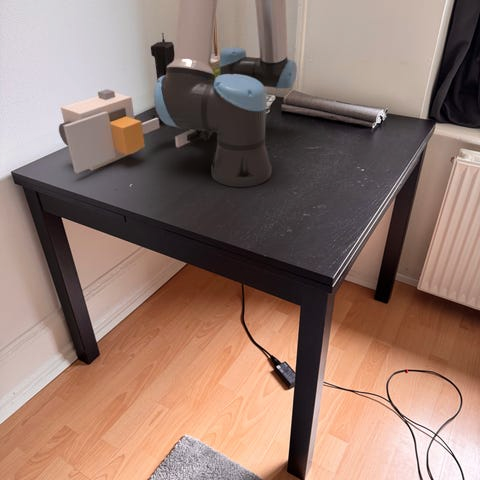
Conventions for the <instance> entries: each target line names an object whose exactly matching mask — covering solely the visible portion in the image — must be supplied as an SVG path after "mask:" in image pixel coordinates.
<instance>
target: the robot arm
mask: <svg viewBox="0 0 480 480" xmlns="http://www.w3.org/2000/svg"><path fill="white" fill-rule="evenodd" d="M218 1H219V0H179V7H178V18H177V27H176V28H177V29H176V37H175V45H174V54H175V55H174V61H173V62H172V63H171V64H169V65H168V66H167V70H166V75H164V76H162V77H160V78H159V79H158V80H157V79H156V83H155V84H154V89H153V103H154V107H155V111H156V113H154V114H152V115H151V116H152V119H150V120H147V121H144V122H141V123H142V130H143V135H146V134H148V133H150V132H154V131H156V130H159V129H160V127H166V126H167V127H168V126H170V127H175V128H178V129H188V130H187V131H184V132H182V133H180V134H178V135H176V136H174V139H175V147H176V148H180V147H182V146H184V145H186V144H188V143H191V142H194V141H195V140H201V139H203V140H204V141H208V140H209V139H210V137H211V136H212V135H213V133H216V141H217V142H216V144H217V145H216V149H215V152H214V155H213V160H212V162H211V176H212V178H213V180H214V181H216V182H218V183H219V184H222V185H224V186H228V187H233V188H234V187H235V188H236V187H237V188H247V187H249V188H250V187H254V186H257V185H258V186H259V185H261V184H264V183H265V182H267V181H269V179H270V178H271V175H272V163H271V160H270V157H269V154H268V150H267V147H266V115H267V113H266V112H267V110H266V109H267V100H266V98H267V97H266V88H273V89H274V88H275V89H292V87H293V86H294V84H295V83H296V82H295V81H296V78H297V67H298V66H297V63H296V61H295V60H290V59H289V58H288V35H287V34H288V33H287V27H288V26H287V1H286V0H254V1H255V4H254V5H255V14H256V25H257V36H258V37H257V38H258V48H259V57H251V56H247V53H246V52H247V51H246V49H245V48H244V47H243V48H242V47H237V46H235V47H234V46H232V47H229V46H228V47H225V48H223V49H221V50H220V51H219V55H220V65H219V67H220V76H218V77H217V78H216V79H215V73H214V72H213V70H212V69H211V67H210V61H211V54H212V52H213V51H212V49H213V43H214V33H215V27H216V26H215V25H216V15H217V8H218ZM265 87H266V88H265Z"/></svg>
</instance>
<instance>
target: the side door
mask: <svg viewBox="0 0 480 480" xmlns="http://www.w3.org/2000/svg"><path fill="white" fill-rule="evenodd" d="M142 123H143V122H142V121H141V120H139V119H132V118H129V117H123V118H120V119H117V120H115V121H112V122H110V120H109V115H108V112H102V113H99V114H96V115H93V116H90V117H87V118H84V119H81V120H78V121H75V122H72V123H69V124H66V125H63V127H64V131H65V135H66V139H67V143H68V146H67V147H68V149H69V154H70V158H71V162H72V166H73V167H72V168H73V172H74V173H76V174H79V173H82V172H84V171H86V170H90V169H89V168H91V167H94V166H96V165H98V164H101V163H103V162H106V161H108V160H110V159H113V158H115V157H116V153H115V150H117V151H119V152H122V153H124V154H130V153H132V152H134V151H137V150H139V151H140V149H143V148H146V145H145V138H144V134H143V130H142ZM137 152H138V151H137ZM134 153H135V152H134ZM132 154H133V153H132ZM130 155H131V154H130Z"/></svg>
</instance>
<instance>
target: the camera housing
mask: <svg viewBox="0 0 480 480" xmlns="http://www.w3.org/2000/svg"><path fill="white" fill-rule="evenodd" d="M60 110H61V111H60V112H61V115H62V118H63V122H62V123H60V124H59V125H58V133H59V136H60V139H62V141H63V143H64V144H65V145H66V146H67V147H68V143H67V139H66V135H65V131H64V127H63V125H66V124H69V123H72V122H75V121H78V120H81V119H84V118H87V117H90V116H93V115H96V114H99V113H102V112H108V115H109V120H110V122H112V121H115V120H117V119H120V118H123V117H129V118H132V119H135V114H134V113H135V112H134V105H133V99H132V97H131V96H129V95H125V94H121V93H118V92H115V91H114V90H112V89H111V90H110V89H104V90H101V91H98V92H97V96H93V97H90V98H87V99H84V100H80V101H77V102H74V103H71V104H68V105H63V106H60ZM139 151H140V149H139V150H137V151H134V152H132V153H130V154H124V153H122V152H119V151H117V150H115V153H116V157H115V158H113V159H110V160H108V161H106V162H103V163H101V164H98V165H96V166H94V167H91V168H89V169H88V170H90V171H95V170H97V169H99V168H101V167H104V166H106V165H109V164H110V163H114V162H116V161H118V160H120V159H122V158H123V159H124V157H127V156H130V155H132V154H134V153H137V152H139Z"/></svg>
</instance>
